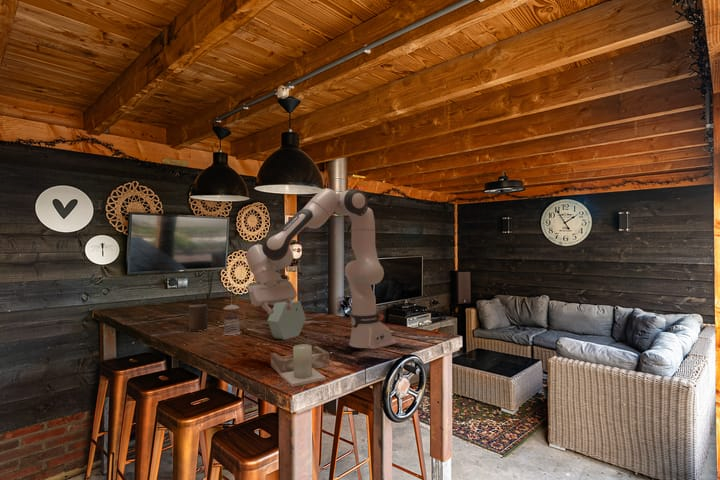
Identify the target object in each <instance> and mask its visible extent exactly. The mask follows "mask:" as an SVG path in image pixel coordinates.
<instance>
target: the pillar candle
mask: <svg viewBox="0 0 720 480" xmlns="http://www.w3.org/2000/svg"><path fill="white" fill-rule="evenodd" d="M207 328H208V304H204V303H203V304H199V303H198V304H191V305H188V331H189V330H192V331H198V330H204V329H207ZM207 330H208V329H207Z"/></svg>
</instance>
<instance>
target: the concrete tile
mask: <svg viewBox="0 0 720 480" xmlns="http://www.w3.org/2000/svg"><path fill="white" fill-rule="evenodd" d="M280 378H282V379H283V380H284V381H285V382H286V383H287V384H289V385H290V386H291V387H292V388H294V387H298V386H304V385H307V384H308V385H309V384H312V383H318V381H319V382H323V380H324V381H326V376H325V375H323V374H322V373H320V372H319V371H318V370H316V369H313V368H312V376H310V377H308V378H295V377H294V371H291V372H286V373H281V375H280Z"/></svg>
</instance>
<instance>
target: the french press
mask: <svg viewBox="0 0 720 480" xmlns="http://www.w3.org/2000/svg"><path fill="white" fill-rule="evenodd" d="M229 289H230V291H231V293H230V295H231V296H230V298H231V301H230V302H231V304H230V305H227V306H225V307H223V310H224V311H231V313H230V314H225V315H224V317H225V318H224V319H223V333H222V334H224V335H234V336H236V335H235V334H239V335H241V334H242V332H241V331H240V330H241V324H243V323H244V322H245V318H246V315H245V314H246V313H245V312H244V311H243V310H242V309H240V306H238V305H236V304H233V299H232V297H233V292H232V290H233V289H234V287H233V286H229ZM233 310H238V313H237V314H234V313H233ZM240 312H242V313H243V317H244V318H243V320H242V321H240V317H239V313H240ZM240 333H241V334H240ZM224 335H223V336H224Z"/></svg>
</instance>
